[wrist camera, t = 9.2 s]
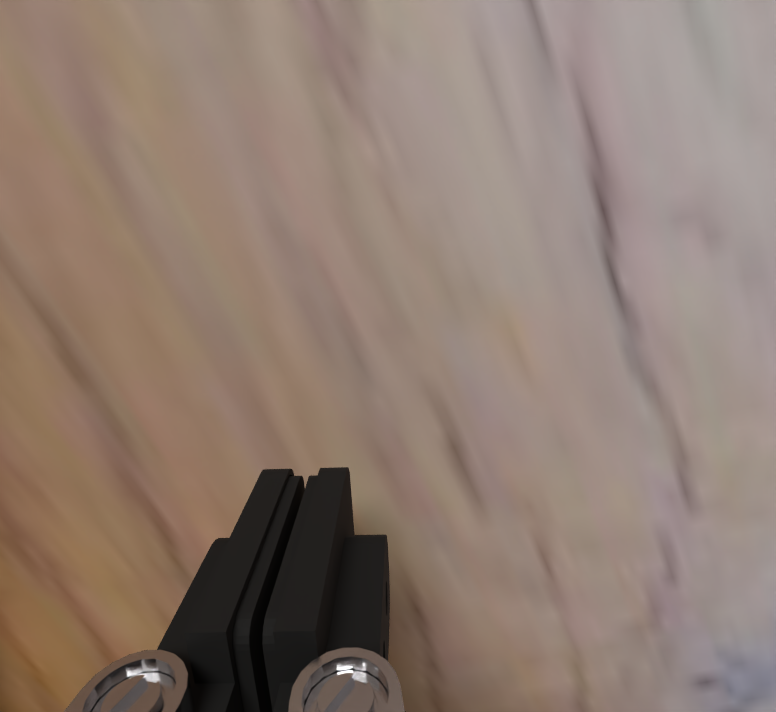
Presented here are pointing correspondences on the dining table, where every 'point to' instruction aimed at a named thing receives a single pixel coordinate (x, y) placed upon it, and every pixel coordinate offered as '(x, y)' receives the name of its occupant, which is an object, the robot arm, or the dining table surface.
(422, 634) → the dining table surface
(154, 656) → the robot arm
